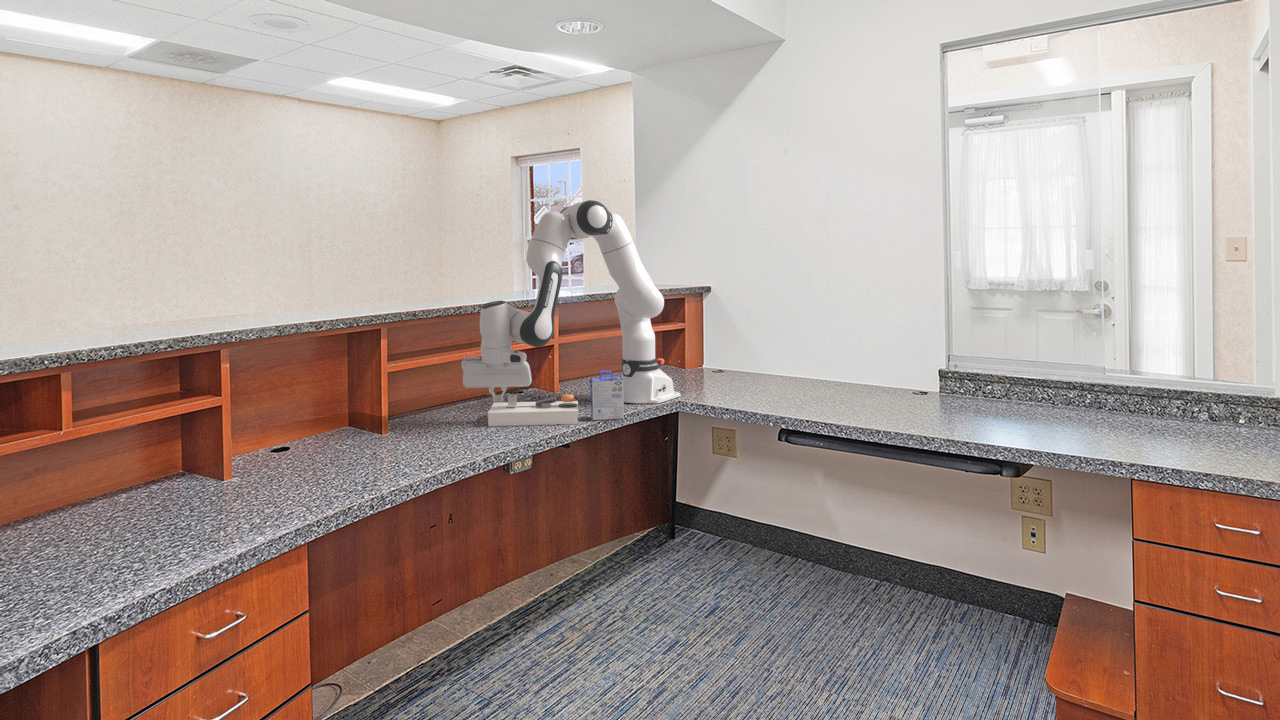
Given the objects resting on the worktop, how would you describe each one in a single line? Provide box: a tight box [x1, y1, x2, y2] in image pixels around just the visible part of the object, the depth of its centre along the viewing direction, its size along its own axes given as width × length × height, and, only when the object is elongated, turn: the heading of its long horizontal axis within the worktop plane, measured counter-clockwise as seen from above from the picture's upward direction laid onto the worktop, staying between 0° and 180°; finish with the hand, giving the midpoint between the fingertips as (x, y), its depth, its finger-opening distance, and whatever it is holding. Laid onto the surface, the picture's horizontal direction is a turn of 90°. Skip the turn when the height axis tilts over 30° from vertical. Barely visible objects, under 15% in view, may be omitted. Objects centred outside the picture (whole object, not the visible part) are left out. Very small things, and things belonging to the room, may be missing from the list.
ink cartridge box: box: [589, 369, 625, 421], centre depth 219 cm, size 10×6×14 cm, turn 102°
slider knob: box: [507, 393, 518, 407], centre depth 217 cm, size 2×4×3 cm, turn 4°
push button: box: [560, 393, 575, 402], centre depth 218 cm, size 4×4×2 cm
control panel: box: [487, 400, 579, 427], centre depth 218 cm, size 26×14×6 cm, turn 94°
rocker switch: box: [535, 396, 557, 407], centre depth 218 cm, size 6×4×1 cm, turn 93°
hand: (498, 401), depth 217 cm, fingers closed
